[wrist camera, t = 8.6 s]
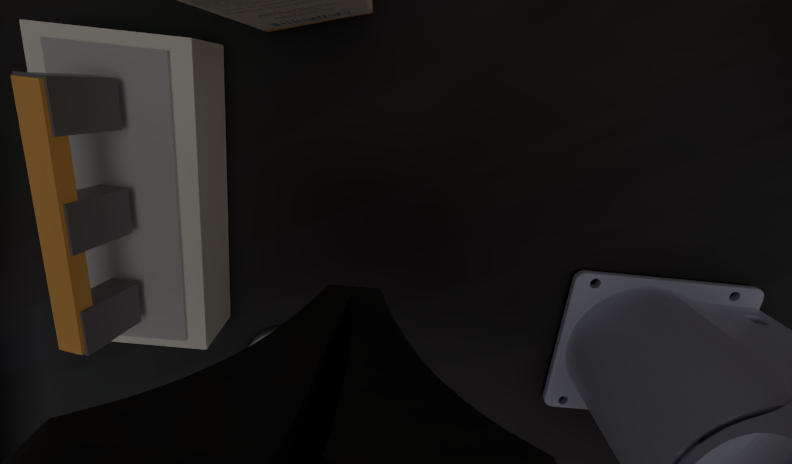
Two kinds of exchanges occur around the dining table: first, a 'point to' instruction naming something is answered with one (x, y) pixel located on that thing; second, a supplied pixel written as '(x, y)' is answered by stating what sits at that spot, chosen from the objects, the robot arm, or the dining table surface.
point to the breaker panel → (155, 171)
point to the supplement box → (283, 11)
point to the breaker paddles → (75, 204)
